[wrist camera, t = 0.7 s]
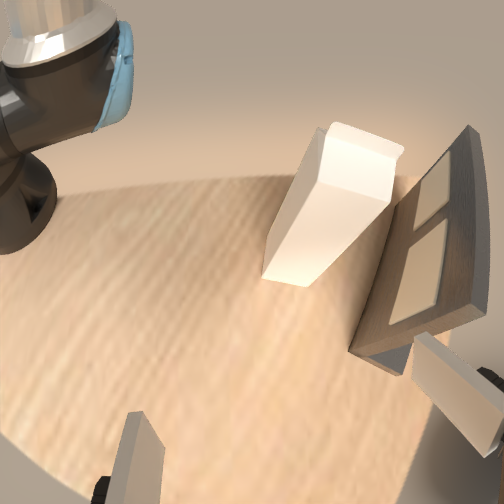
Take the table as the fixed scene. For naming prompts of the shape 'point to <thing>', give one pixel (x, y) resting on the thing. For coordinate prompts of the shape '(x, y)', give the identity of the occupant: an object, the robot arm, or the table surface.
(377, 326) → the label panel
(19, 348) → the table surface
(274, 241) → the milk
